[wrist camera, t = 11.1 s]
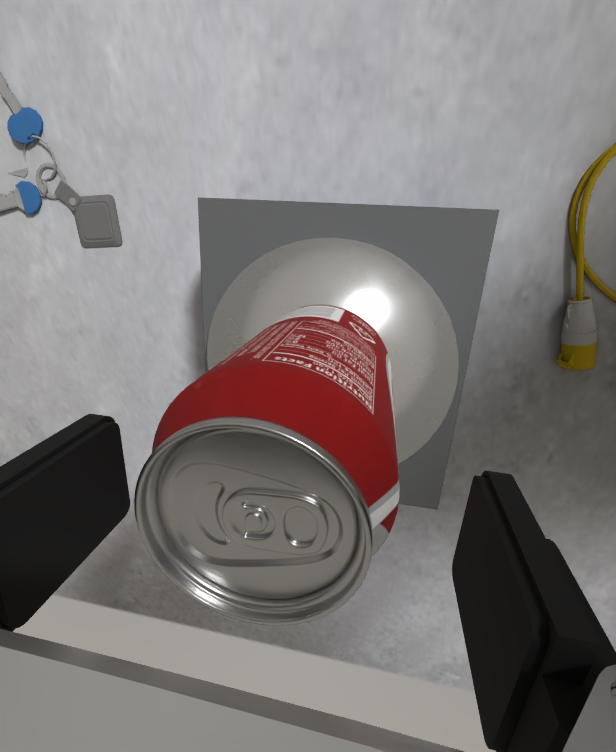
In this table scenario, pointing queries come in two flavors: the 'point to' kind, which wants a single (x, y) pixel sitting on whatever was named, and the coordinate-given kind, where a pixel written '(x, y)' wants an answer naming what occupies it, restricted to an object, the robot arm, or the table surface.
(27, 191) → the key chain
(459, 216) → the scale
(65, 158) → the table surface
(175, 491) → the soda can
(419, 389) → the scale pan
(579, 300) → the extension cord
